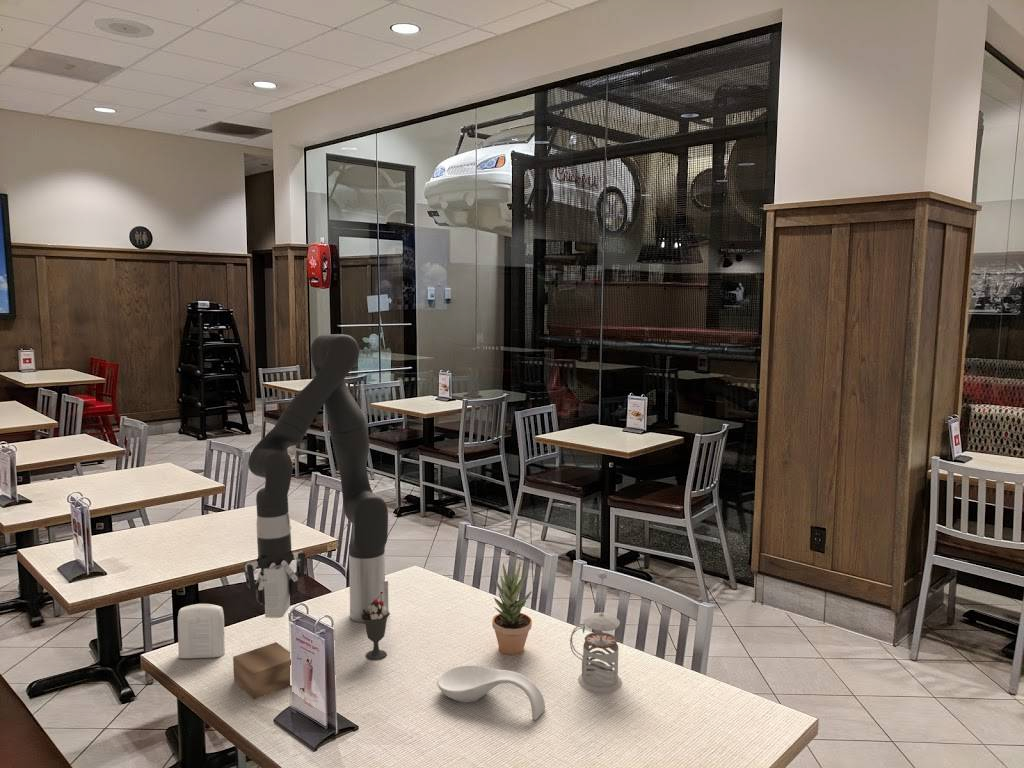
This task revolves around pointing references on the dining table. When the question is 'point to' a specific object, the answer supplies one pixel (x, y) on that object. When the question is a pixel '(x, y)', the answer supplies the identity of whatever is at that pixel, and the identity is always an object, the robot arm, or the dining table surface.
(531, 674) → the dining table surface
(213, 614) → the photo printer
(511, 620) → the potted plant
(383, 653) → the sundae
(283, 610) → the skincare box
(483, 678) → the spoon rest
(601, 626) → the french press
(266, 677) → the walnut block
